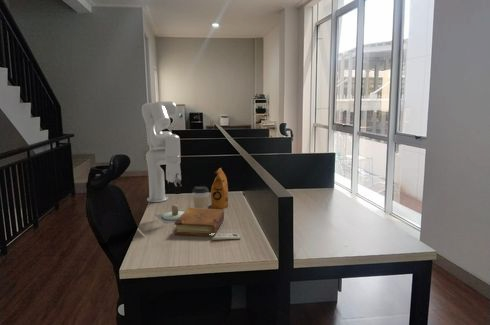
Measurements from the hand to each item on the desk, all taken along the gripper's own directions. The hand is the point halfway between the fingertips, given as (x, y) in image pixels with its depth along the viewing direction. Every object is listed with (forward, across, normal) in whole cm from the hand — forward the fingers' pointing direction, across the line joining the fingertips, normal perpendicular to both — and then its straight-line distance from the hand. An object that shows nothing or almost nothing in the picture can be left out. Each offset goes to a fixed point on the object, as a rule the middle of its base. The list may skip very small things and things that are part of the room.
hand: (174, 192), depth 193 cm
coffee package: (+14, -8, +30) cm, 34 cm away
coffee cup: (+14, -1, +15) cm, 21 cm away
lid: (+13, -1, 0) cm, 13 cm away
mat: (+14, -1, 0) cm, 14 cm away
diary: (+14, +20, +5) cm, 25 cm away
